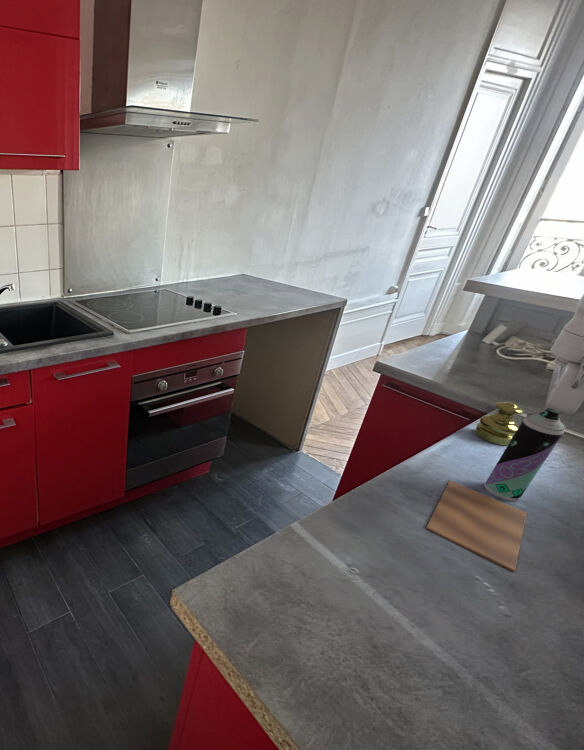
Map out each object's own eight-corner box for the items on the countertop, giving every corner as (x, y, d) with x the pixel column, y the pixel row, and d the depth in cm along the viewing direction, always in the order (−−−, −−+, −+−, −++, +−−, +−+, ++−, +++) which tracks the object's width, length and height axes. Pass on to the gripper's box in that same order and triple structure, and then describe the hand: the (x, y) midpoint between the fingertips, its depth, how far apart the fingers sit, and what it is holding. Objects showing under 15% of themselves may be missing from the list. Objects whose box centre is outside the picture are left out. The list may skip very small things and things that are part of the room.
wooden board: (448, 481, 88) (449, 480, 88) (526, 514, 80) (527, 512, 80) (425, 528, 76) (426, 526, 76) (513, 572, 68) (515, 570, 68)
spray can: (478, 486, 87) (526, 406, 77) (493, 479, 88) (541, 400, 79) (510, 504, 82) (565, 421, 73) (525, 496, 84) (580, 414, 75)
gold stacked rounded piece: (466, 427, 107) (484, 394, 103) (497, 430, 107) (516, 397, 102) (487, 444, 101) (507, 409, 96) (520, 447, 100) (542, 412, 96)
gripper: (618, 372, 65) (569, 443, 71) (614, 343, 77) (572, 406, 84) (561, 359, 69) (519, 427, 75) (566, 333, 82) (530, 394, 88)
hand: (547, 416), depth 80 cm, fingers closed
